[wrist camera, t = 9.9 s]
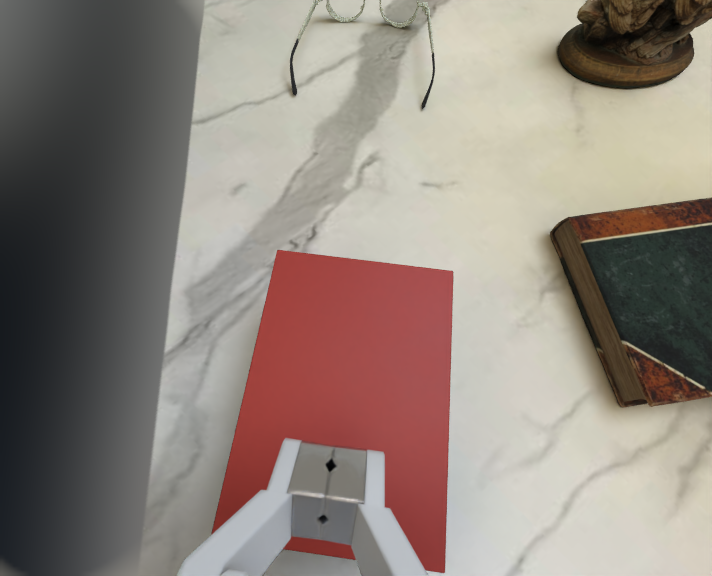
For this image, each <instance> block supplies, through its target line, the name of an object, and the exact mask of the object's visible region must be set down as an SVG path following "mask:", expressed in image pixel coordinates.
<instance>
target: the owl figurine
mask: <svg viewBox="0 0 712 576" xmlns="http://www.w3.org/2000/svg"><path fill="white" fill-rule="evenodd" d="M577 18H578V19H579V21H580V22H581V23H582V24H579V25H577V26H575V27H574V28H572V29H571V30H570V31H568V32H567V33H566V35H565V36H564V37H563V39H562V40H561V42H560V44H559V46H558V54H559V58H560V61H561V62H562V64H563V66H564V67H565V68H566V69H567V70H568V71H570V73H571V74H573V75H574V76H576V77H577V78H580V79H582V80H583V81H587V82H590V83H595V84H598V85H604V86H611V87H618V88H634V87H645V86H650V85H657V84H660V83H663V82H666V81H668V80H670V79H672V78H674V77H676V76H677V75H679V74H680V73H682V72H683V71H684V70H685V69H686V68H687V67H688V66H689V64H690V63H691V61H692V59H693V56H694V48H693V38H692V37H691V35H690V32H691V31H692V30H693V29H694V28H695V27H698V26H700V25H702V24H704V23H705V22H707V21H708V20H709V19H711V18H712V0H588V1H586V3H585V4H584V5H583V6H582V7H581V8H580V9H579V11H578V15H577Z"/></svg>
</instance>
